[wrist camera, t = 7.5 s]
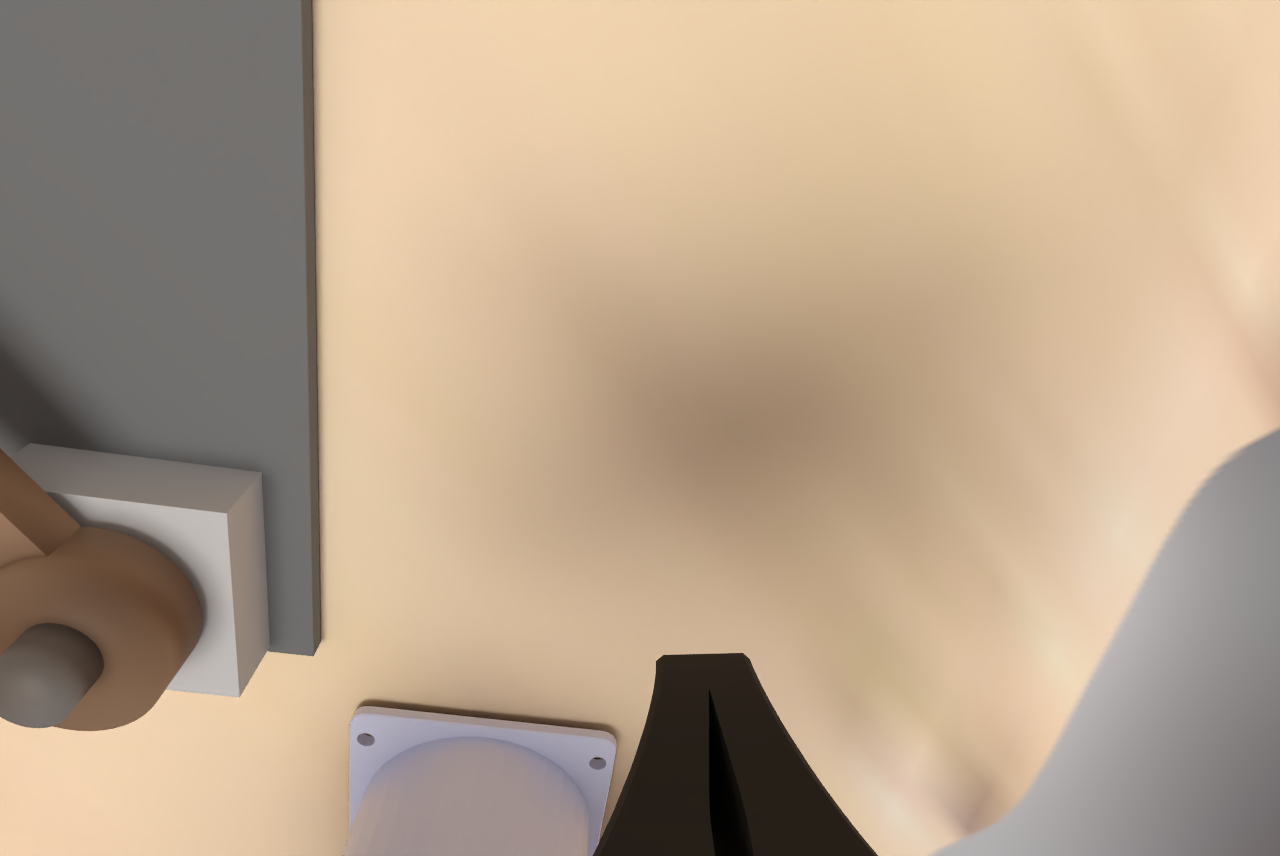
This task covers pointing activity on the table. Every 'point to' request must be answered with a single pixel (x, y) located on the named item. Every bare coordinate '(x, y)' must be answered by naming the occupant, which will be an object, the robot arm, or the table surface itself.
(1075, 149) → the table surface
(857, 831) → the robot arm
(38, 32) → the plate
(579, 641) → the table surface
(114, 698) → the lever
